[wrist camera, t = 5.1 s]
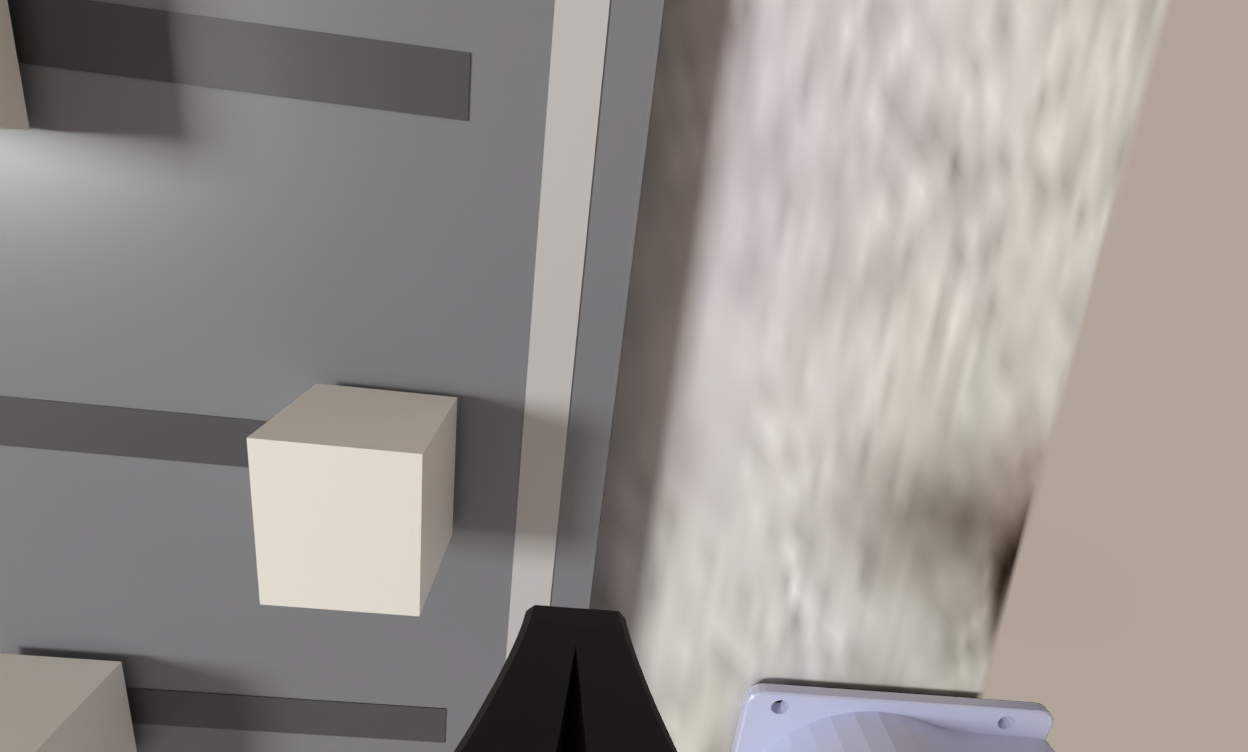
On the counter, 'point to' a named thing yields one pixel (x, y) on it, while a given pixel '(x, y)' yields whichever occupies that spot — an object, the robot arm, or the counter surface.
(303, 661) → the panel
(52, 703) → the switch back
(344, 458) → the switch
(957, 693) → the counter surface
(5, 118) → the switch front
